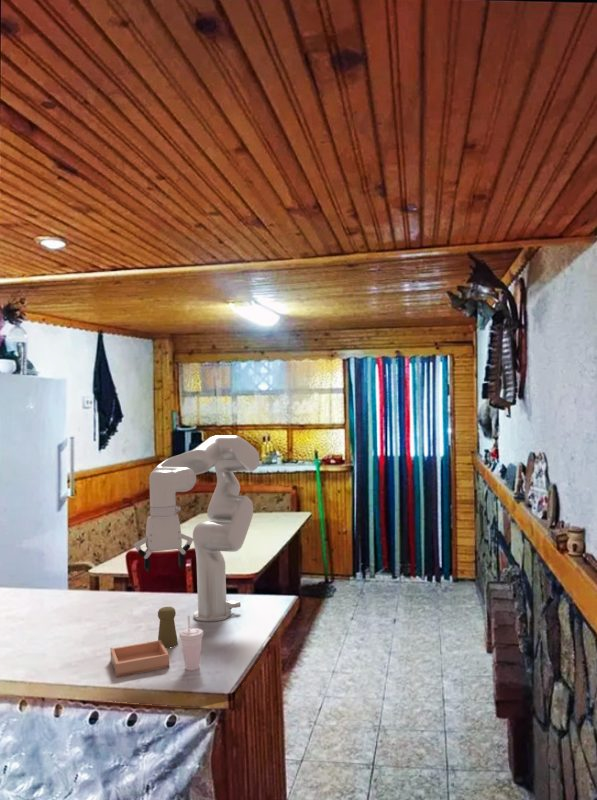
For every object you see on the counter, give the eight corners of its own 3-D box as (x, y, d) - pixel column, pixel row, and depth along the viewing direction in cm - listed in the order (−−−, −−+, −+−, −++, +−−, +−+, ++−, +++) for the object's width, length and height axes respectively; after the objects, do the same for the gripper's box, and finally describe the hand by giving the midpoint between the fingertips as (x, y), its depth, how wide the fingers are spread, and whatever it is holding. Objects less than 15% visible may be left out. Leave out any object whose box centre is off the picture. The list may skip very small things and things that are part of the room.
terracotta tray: (160, 652, 188) (160, 640, 188) (169, 667, 177) (169, 654, 177) (110, 661, 182) (110, 648, 182) (116, 677, 171) (116, 664, 171)
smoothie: (181, 663, 179) (180, 612, 179) (205, 662, 180) (203, 611, 180) (179, 673, 173) (177, 620, 173) (203, 671, 173) (202, 619, 173)
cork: (173, 649, 190) (172, 611, 190) (154, 648, 191) (152, 610, 191) (181, 641, 196) (179, 604, 196) (162, 640, 197) (161, 604, 197)
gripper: (189, 507, 200) (190, 563, 200) (131, 512, 194) (133, 570, 194) (194, 510, 193) (196, 568, 193) (135, 516, 187) (137, 575, 187)
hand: (164, 569), depth 194 cm, fingers open, 9 cm apart
